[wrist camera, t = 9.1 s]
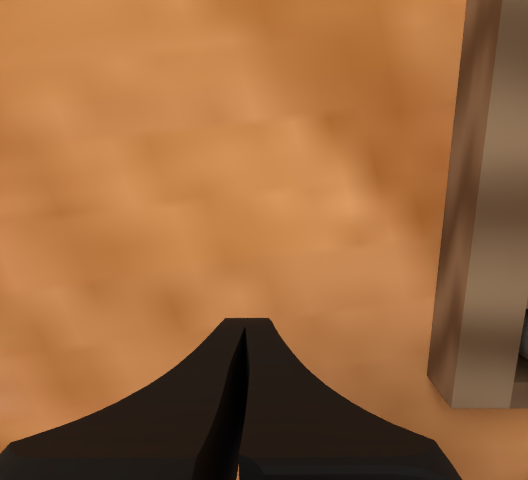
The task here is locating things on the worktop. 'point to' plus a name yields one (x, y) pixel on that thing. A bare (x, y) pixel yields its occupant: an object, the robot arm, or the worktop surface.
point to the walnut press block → (486, 218)
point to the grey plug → (524, 337)
